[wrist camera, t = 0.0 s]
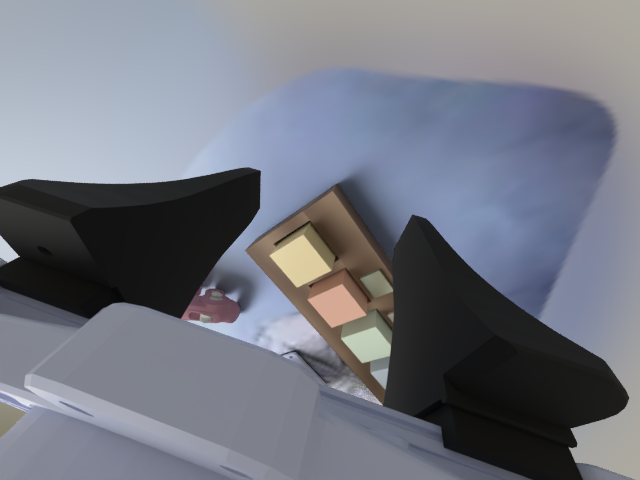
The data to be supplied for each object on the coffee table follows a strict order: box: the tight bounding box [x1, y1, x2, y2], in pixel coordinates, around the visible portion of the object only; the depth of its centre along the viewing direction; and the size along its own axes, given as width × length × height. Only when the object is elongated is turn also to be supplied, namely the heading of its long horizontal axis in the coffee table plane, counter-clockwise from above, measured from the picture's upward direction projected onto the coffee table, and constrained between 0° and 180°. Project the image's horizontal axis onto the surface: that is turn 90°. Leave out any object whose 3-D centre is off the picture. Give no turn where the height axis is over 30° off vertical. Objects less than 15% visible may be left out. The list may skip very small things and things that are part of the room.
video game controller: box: [181, 285, 240, 323], centre depth 29 cm, size 10×5×7 cm, turn 81°
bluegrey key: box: [370, 356, 390, 390], centre depth 26 cm, size 4×4×3 cm
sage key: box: [341, 309, 393, 363], centre depth 24 cm, size 4×4×3 cm
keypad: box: [245, 184, 394, 405], centre depth 26 cm, size 11×29×3 cm, turn 38°
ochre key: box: [269, 222, 336, 288], centre depth 21 cm, size 4×4×3 cm
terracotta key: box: [308, 267, 368, 328], centre depth 23 cm, size 4×4×3 cm
